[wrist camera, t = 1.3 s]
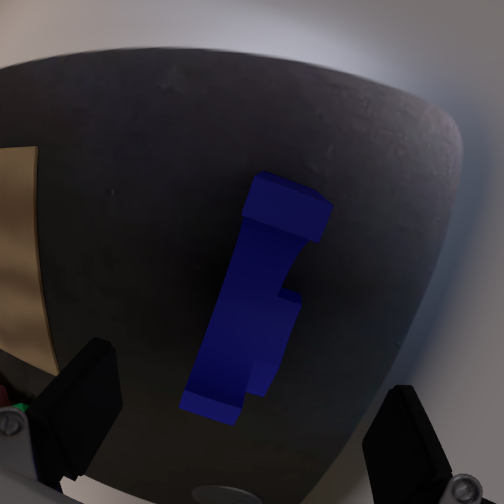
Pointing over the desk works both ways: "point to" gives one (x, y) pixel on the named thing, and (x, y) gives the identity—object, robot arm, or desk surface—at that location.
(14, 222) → the cork mat
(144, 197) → the desk surface
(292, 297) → the blue cradle bracket
